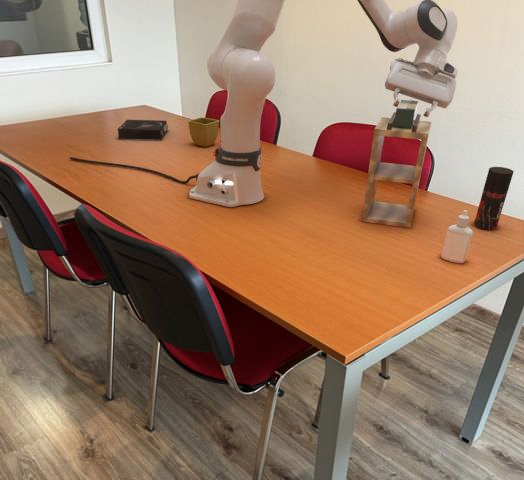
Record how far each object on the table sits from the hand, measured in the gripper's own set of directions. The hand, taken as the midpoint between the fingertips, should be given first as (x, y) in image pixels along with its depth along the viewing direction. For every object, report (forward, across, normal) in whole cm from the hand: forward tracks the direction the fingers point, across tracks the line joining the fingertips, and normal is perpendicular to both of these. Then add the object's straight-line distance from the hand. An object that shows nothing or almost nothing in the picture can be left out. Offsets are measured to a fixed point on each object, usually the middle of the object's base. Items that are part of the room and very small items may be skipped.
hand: (410, 110), depth 152 cm
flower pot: (+14, -69, +45) cm, 84 cm away
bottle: (+12, -1, -16) cm, 20 cm away
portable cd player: (+15, -97, +53) cm, 112 cm away
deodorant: (+28, +30, -8) cm, 42 cm away
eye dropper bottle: (+46, +22, -26) cm, 57 cm away
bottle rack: (+34, +5, -6) cm, 34 cm away
